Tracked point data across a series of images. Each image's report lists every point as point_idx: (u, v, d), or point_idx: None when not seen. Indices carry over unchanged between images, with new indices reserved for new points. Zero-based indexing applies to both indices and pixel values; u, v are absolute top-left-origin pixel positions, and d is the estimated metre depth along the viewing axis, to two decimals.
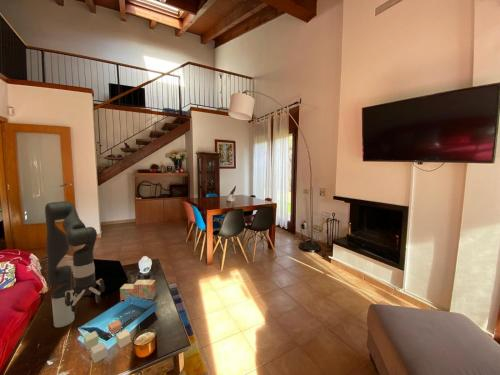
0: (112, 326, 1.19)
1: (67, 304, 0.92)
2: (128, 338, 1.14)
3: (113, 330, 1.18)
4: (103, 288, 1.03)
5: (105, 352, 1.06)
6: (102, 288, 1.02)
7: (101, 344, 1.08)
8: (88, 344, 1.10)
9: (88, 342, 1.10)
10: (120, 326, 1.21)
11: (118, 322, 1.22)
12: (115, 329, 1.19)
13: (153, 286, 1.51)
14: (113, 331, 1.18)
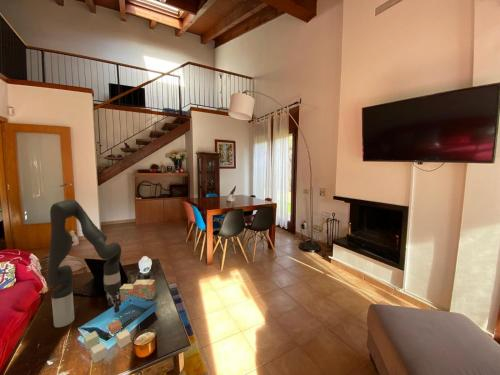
0: (112, 326, 1.19)
1: (120, 303, 1.16)
2: (128, 338, 1.14)
3: (113, 330, 1.18)
4: None
5: (105, 352, 1.06)
6: None
7: (101, 344, 1.08)
8: (88, 344, 1.10)
9: (88, 342, 1.10)
10: (120, 326, 1.21)
11: (118, 322, 1.22)
12: (115, 329, 1.19)
13: (153, 286, 1.51)
14: (113, 331, 1.18)
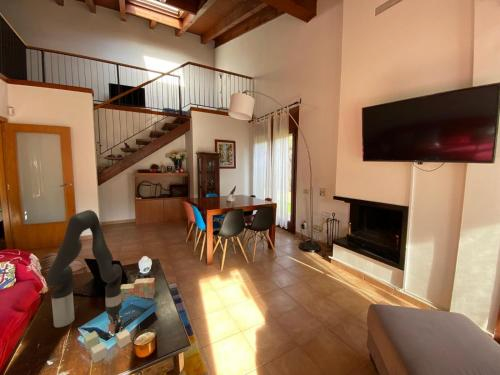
0: (112, 326, 1.19)
1: None
2: (128, 338, 1.14)
3: (113, 330, 1.18)
4: None
5: (105, 352, 1.06)
6: None
7: (101, 344, 1.08)
8: (88, 344, 1.10)
9: (88, 342, 1.10)
10: None
11: None
12: None
13: (153, 284, 1.54)
14: (113, 331, 1.18)
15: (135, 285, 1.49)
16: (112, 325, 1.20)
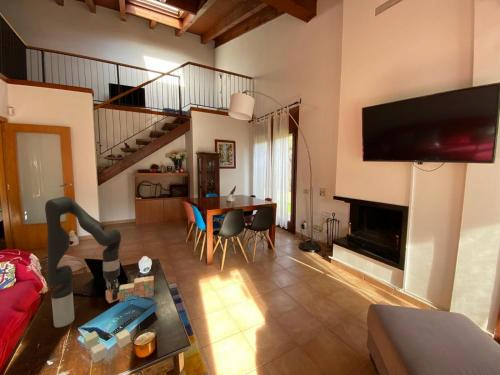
0: (110, 292, 1.17)
1: (118, 290, 1.16)
2: (128, 338, 1.14)
3: (111, 296, 1.16)
4: None
5: (105, 352, 1.06)
6: None
7: (101, 344, 1.08)
8: (88, 344, 1.10)
9: (88, 342, 1.10)
10: None
11: None
12: None
13: None
14: (111, 297, 1.16)
15: (135, 284, 1.50)
16: (110, 291, 1.17)
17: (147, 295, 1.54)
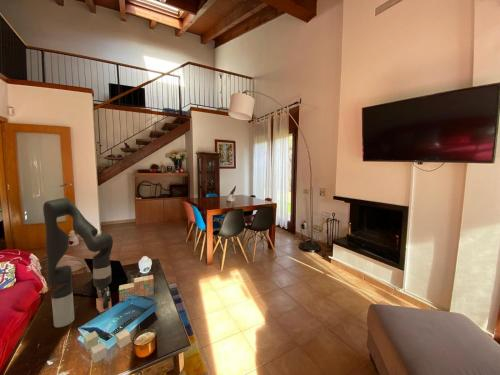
0: (100, 300, 1.09)
1: None
2: (128, 338, 1.14)
3: (101, 305, 1.08)
4: None
5: (105, 352, 1.06)
6: None
7: (101, 344, 1.08)
8: (88, 344, 1.10)
9: (88, 342, 1.10)
10: None
11: None
12: None
13: None
14: (101, 306, 1.09)
15: (136, 283, 1.50)
16: (100, 300, 1.10)
17: (147, 294, 1.55)
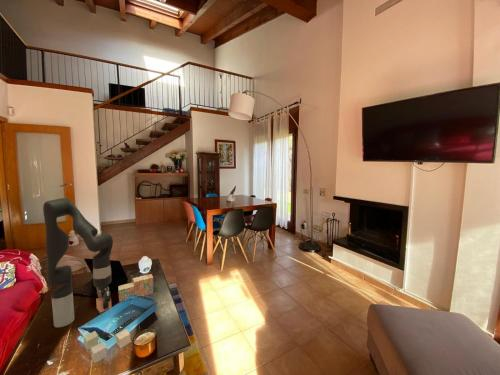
0: (100, 300, 1.09)
1: None
2: (128, 338, 1.14)
3: (101, 305, 1.08)
4: None
5: (105, 352, 1.06)
6: None
7: (101, 344, 1.08)
8: (88, 344, 1.10)
9: (88, 342, 1.10)
10: None
11: None
12: None
13: None
14: (101, 306, 1.09)
15: (136, 283, 1.51)
16: (100, 300, 1.10)
17: (147, 293, 1.56)
